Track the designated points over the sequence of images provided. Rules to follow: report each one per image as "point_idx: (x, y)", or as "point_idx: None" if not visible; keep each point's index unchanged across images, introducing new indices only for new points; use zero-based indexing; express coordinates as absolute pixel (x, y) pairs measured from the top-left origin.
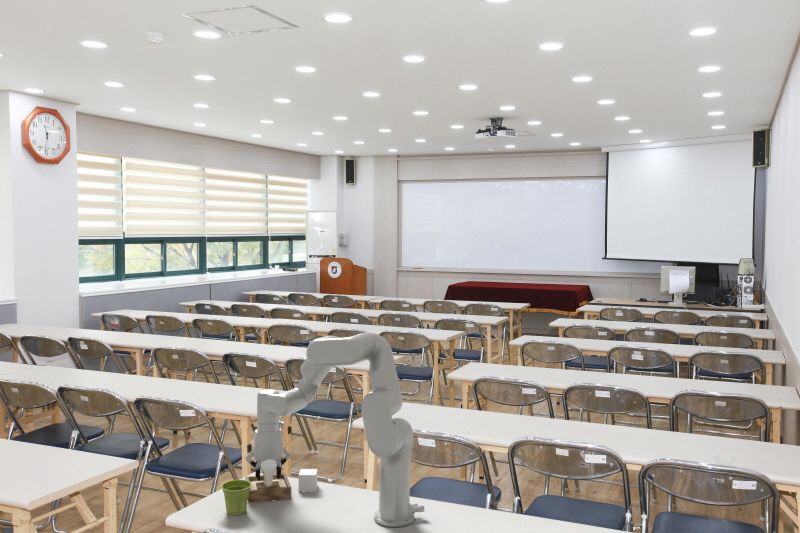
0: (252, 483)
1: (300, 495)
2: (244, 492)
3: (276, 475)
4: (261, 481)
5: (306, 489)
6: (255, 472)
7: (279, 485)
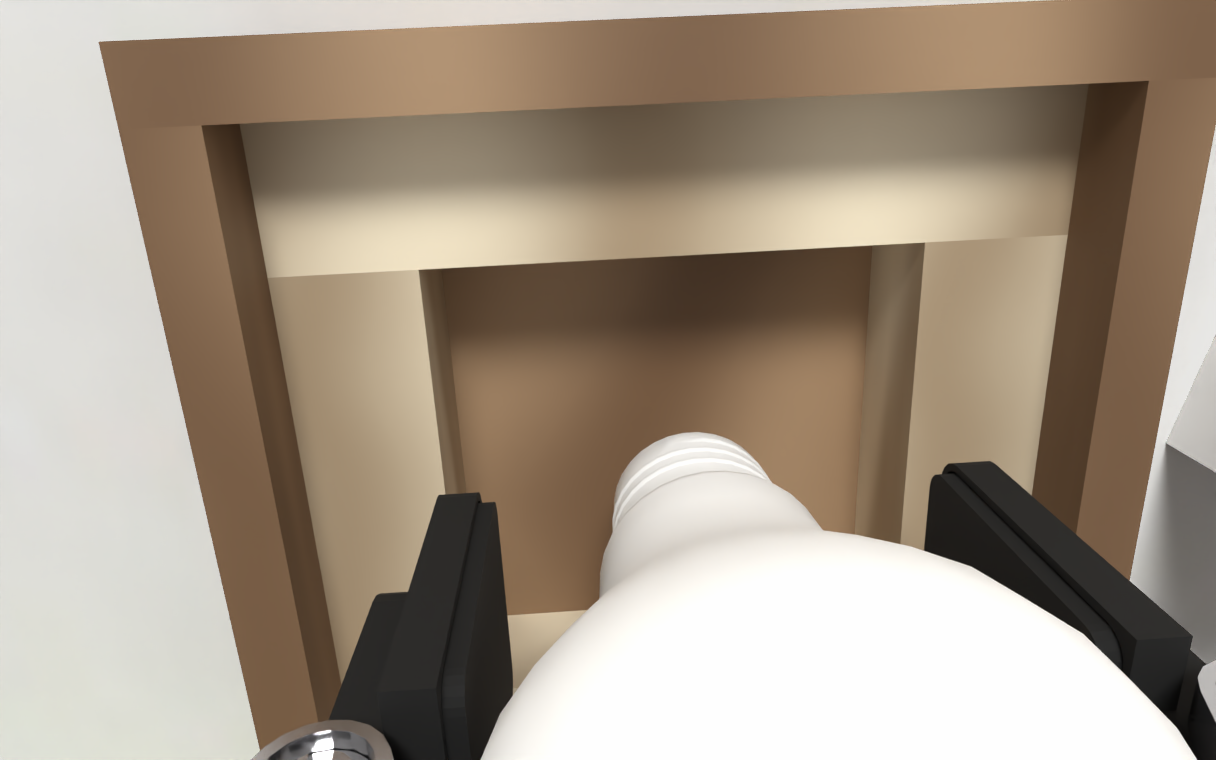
0: (350, 306)
1: (1146, 585)
2: None
3: (940, 512)
4: (556, 218)
5: None
6: (355, 656)
7: (905, 518)
